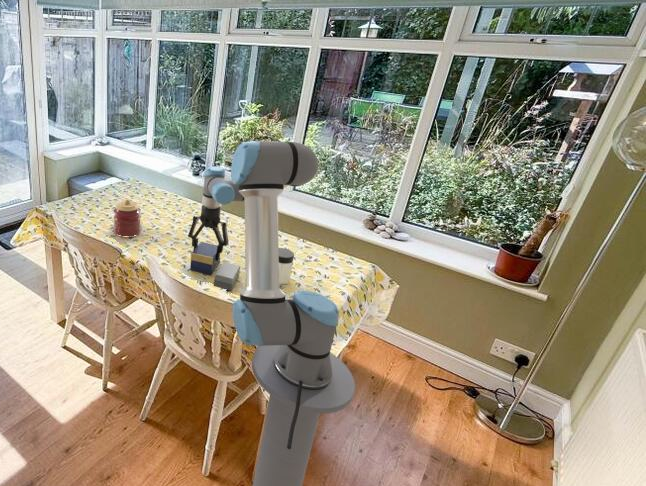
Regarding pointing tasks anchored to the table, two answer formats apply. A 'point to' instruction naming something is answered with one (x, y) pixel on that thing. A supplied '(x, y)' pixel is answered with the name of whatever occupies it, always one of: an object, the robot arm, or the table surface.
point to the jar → (285, 265)
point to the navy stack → (204, 267)
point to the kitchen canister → (127, 218)
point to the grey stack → (227, 276)
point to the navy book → (204, 253)
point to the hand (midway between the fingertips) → (206, 256)
